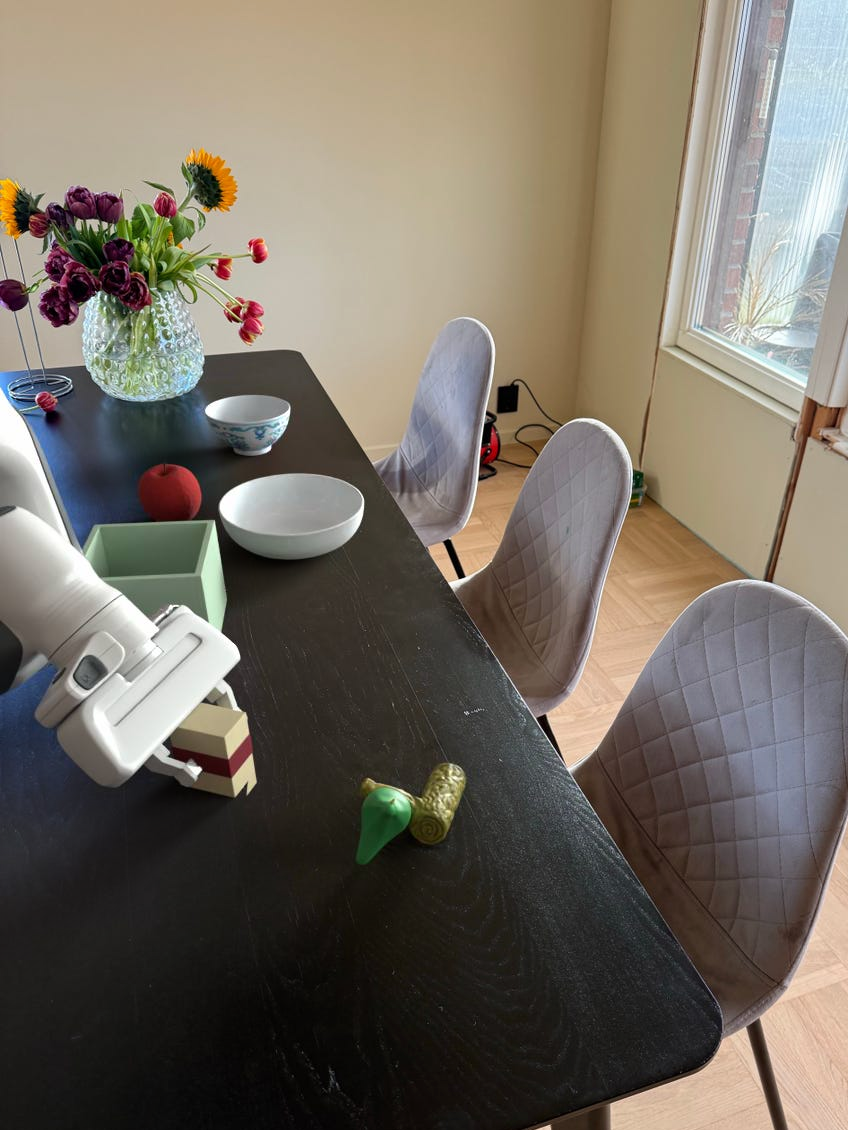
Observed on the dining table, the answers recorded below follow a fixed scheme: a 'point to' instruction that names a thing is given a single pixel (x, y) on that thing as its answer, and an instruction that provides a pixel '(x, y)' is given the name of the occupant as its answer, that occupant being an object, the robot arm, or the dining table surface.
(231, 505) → the serving bowl
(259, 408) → the chinaware
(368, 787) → the bird figurine
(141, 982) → the dining table surface
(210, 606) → the trash bin
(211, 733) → the chocolate box
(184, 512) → the apple
